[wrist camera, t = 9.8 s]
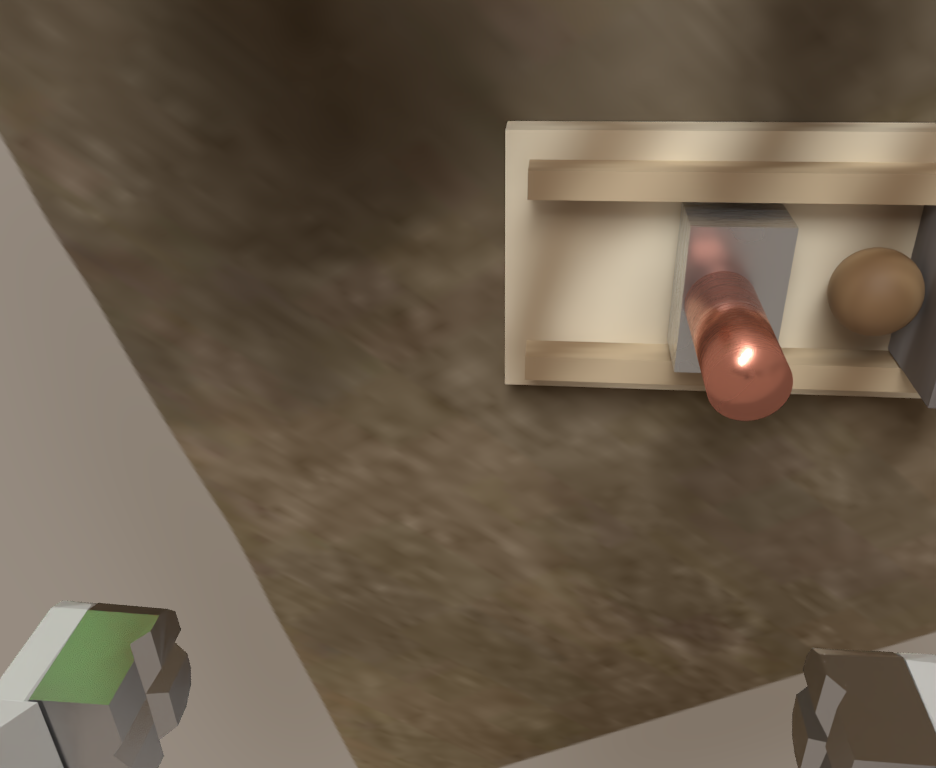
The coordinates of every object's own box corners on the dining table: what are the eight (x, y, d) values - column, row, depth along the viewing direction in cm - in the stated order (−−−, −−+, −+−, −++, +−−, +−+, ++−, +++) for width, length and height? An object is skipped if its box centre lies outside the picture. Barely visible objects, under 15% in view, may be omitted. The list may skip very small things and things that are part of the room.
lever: (781, 202, 35) (845, 299, 27) (758, 342, 38) (809, 466, 30) (682, 201, 35) (715, 297, 27) (667, 339, 39) (692, 461, 30)
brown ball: (916, 234, 35) (949, 268, 32) (896, 313, 37) (926, 353, 34) (826, 233, 36) (850, 266, 33) (810, 311, 38) (832, 350, 35)
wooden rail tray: (1007, 123, 34) (1092, 170, 29) (932, 382, 40) (990, 463, 35) (507, 121, 36) (496, 164, 31) (506, 368, 42) (497, 442, 37)
